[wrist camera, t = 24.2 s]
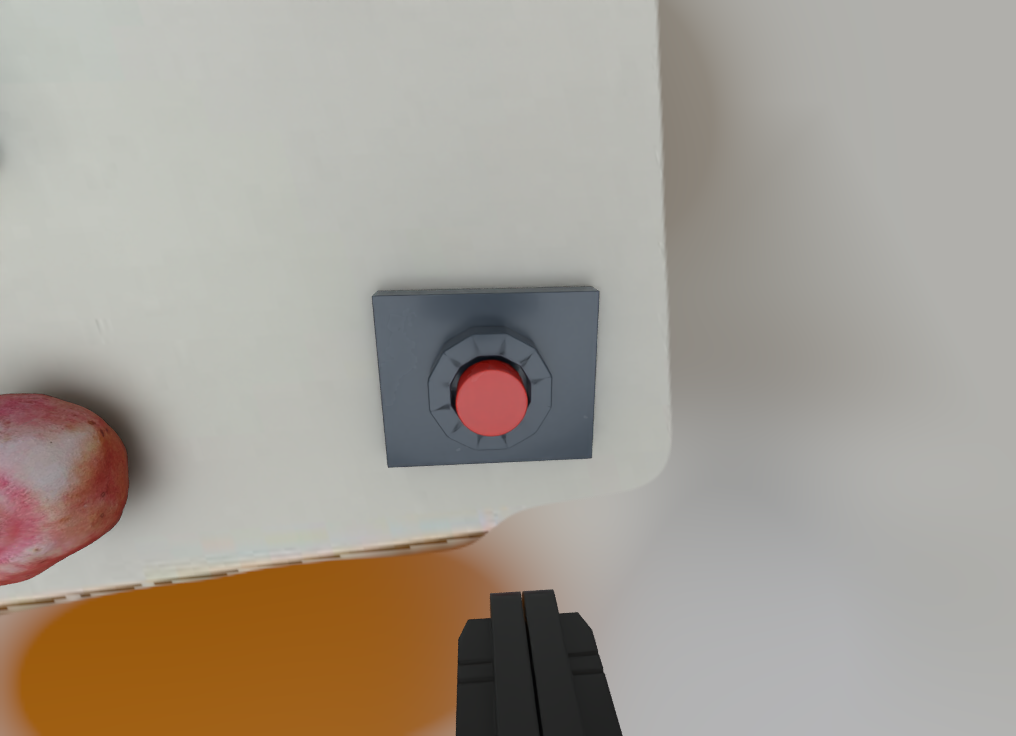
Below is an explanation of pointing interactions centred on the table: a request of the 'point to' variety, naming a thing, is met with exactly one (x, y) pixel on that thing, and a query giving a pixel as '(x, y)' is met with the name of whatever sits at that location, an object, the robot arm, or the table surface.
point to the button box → (476, 337)
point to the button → (491, 398)
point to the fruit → (55, 482)
